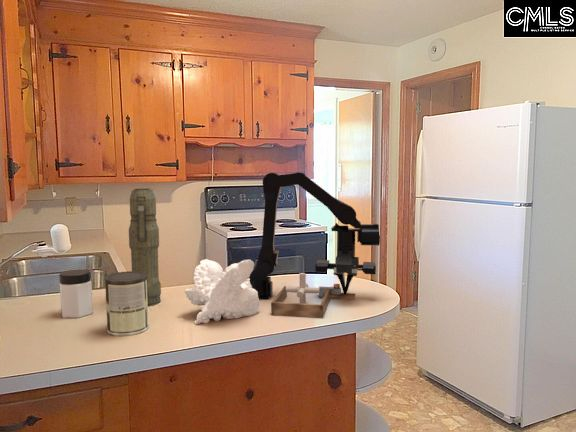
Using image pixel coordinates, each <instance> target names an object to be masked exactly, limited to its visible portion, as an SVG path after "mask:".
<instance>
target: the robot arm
mask: <svg viewBox="0 0 576 432" xmlns="http://www.w3.org/2000/svg"><path fill="white" fill-rule="evenodd" d="M295 185H296V186H299V187H300V188H302V189H303V190H304V191H306V192H307V193H308V194H310V196H312V197H314V198H315V199H316V200H317V201H318V202H320V203H321V204H323V205H324V206H325V207H326V208H327V209H328V210H329V211H330V212H331V213H332V214H333V216H334V217H335V218H336V219H337V220H338V222H340V223H341V225H339V224H338V222H336V223H334V225H333V226H332V227H331V232H336V257H335V263H333V262H332V263H331V261H330V259H329V260H328V259H319V260H317V261H316V263H315V266H314V267H315V270H314V271H315V272H316V273H325V272H327V271H328V270H333V272H332V273H333V275H334V276H336V277H337V278H338V280H339V282H340V283H339V284H340V285H341V286H340V287H341V290H342V293H344V294H346V293H348V290H349V288H350V283H351V282H352V280H353V278H354V277H356V276H358V271H362V273H364V274H365V275H376V270H377V269H376V268H377V263H376V262H374V261H363V263H362V264H360V260H359V259H360V257H359V256H356V242H357V243H360V246H372V247H373V246H380V243H381V235H380V227H379V226H380V225H379V224H378V223H372V224H371V223H370V224H367V223H366V224H365V223H364V224H363V223H361V221H360V220H358V218H357V212H356V209H354V207H352V206H351V205H349V204H347V203H346V202H344V201H341V200H340V199H338V198H336V197H335V196H333V195H331V194H330V193H329V192H328V191H326V190H325V189H323V188H322V186H320V185H319V184H317V183H316V182H315V181H313V179H311V178H309V177H308V176H307V175H306V173H304V172H303V171H297V172H294V173H287V174H286V173H285V174H279V173H278V172H269V173H266V175H264V177H263V179H262V188H263V189H262V190H263V197H264V211H263V226H262V227H263V228H262V239H261V240H262V241H261V247H260V249H259V254H258V257H257V261H256V264H255V265H254V268H253V271H252V272H251V274H250V276H249V282H250V284H251V286H252V288H253V289H255V290H256V291H257V292H258V298H259V300H260V299H262V300H268V299H270V297H271V296H272V295H273V290H274V289H273V286H274V285H273V284H274V283H273V281H272V276H270V274H272V273H273V272H274V270H275V267H277V266H278V264H279V259H278V258H279V253H280V250H276V248H275V239H276V238H275V237H276V236H275V235H276V234H275V233H276V223H277V221H276V220H277V211H278V209H277V208H278V200H279V197H280V195H281V191H282V188H283V187H290V186H295ZM342 224H343V225H342ZM349 225H350V226H351V227H353V228H349ZM356 240H357V241H356ZM345 274H347V275H346V276H345Z"/></svg>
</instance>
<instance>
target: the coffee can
mask: <svg viewBox="0 0 576 432" xmlns="http://www.w3.org/2000/svg"><path fill="white" fill-rule="evenodd" d="M104 284H105V286H104V287H105V288H104V289H105V305H106V306H105V307H106V308H105V310H106V324H107V328H106V329H107V331H106V332H107V334H109V335H111V336H114V337H115V336H116V337H118V336H119V337H120V336H121V337H125V336H126V337H127V336H133V335H137V334H141V333H143V332H145V331H147V330H148V329H149V328H150V325H149V306H148V302H147V274H146V273H144V272H138V271H132V270H131V271H117V272H114V273H110V274H107V275H106V276H104Z"/></svg>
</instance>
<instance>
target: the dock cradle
mask: <svg viewBox="0 0 576 432" xmlns="http://www.w3.org/2000/svg"><path fill="white" fill-rule="evenodd" d="M286 286H287V285H284V286H283V287H282V289H281V290H280V291H279V292H278V293H277V295H276V296H275V297H274V299H273V300H272V301H271V303H270V304H271V305H270V306H271V309H270V311H271V313H270V314H271V316H283V317H300V318H302V317H303V318H317V319H319V318H320V319H323V318H324V315H325V313H326V311H327V307H328V305H329V303H330V300H345V301H355V300H356V293H355V292H354V293H353V292H352V293H351V292H347V293H346V294H344V292H341V296H336V295H330V288H327V290H326V293H325V295H323V297H322V300H321V303H320V304H315V303H306V304H300V302H299V303H296V302H295V303H292V302H285V301H286V299H287V298H288V292H286Z"/></svg>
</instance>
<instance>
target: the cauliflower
mask: <svg viewBox="0 0 576 432" xmlns="http://www.w3.org/2000/svg"><path fill="white" fill-rule="evenodd" d="M254 267H255V262H254V261H253V260H251V259H243V260H241V261H240V262H237V263H236V262H235V263H231V264H230V265H229V266H227V267H226V268H225V270H224V269H223V267H222V266H221V265H220V263H218V261H214V260H209V259H208V258H205V259H202V260H200V262H199V264H197V265H196V267H195V268H194V273H193V276H192V278H193V284H194V287H190V288H186V289H184V295H186V298H187V299H188V301H190V303H191V304H193V305H195V306H199V307H200V306H201V311H199V312H198V314H196V319H195V320H194V324H195V325H200V324H201V323H202V324H208V323H210V320H214V321H215V322H218V321H219V322H220V320H221V318H223V319H226V320H232V319H240V318H241V317H242V318H244V317H251V316H254V315H256V314H257V313H258V312H259V308H260V303H261V302H260V299H259V298H258V292H257V291H256V290H255V289H253V288H252V286H251V284H250V281H247V280H248V279H250V274H251V272H252V271H253V268H254Z"/></svg>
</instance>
